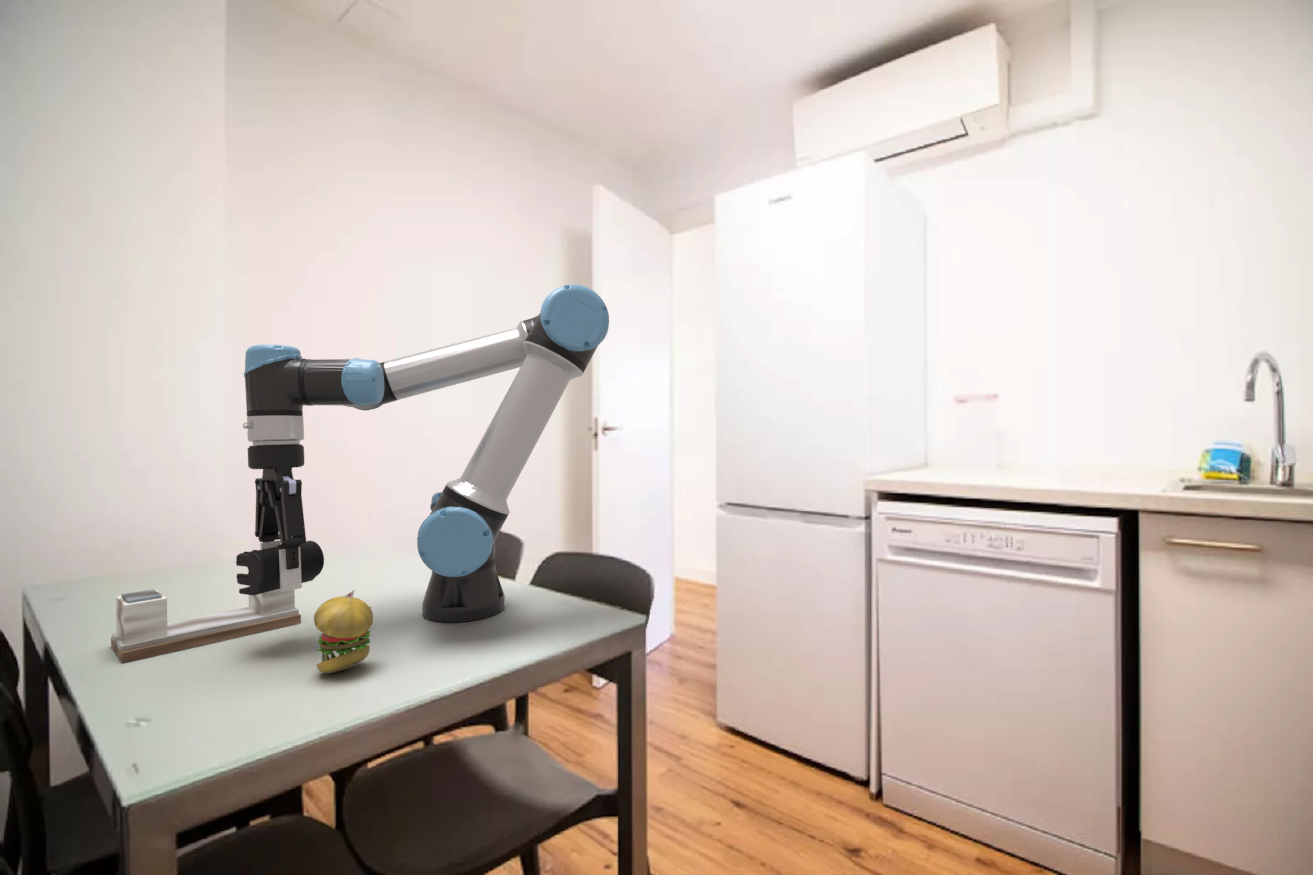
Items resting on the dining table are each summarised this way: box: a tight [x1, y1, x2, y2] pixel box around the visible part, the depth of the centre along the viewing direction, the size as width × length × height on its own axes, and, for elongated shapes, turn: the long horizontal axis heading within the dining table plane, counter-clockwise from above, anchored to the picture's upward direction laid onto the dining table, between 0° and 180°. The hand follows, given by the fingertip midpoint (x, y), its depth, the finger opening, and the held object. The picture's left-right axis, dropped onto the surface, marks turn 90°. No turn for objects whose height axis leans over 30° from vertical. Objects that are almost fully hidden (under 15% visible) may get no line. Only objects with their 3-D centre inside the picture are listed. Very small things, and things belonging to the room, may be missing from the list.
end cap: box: [235, 540, 325, 596], centre depth 92 cm, size 10×7×7 cm
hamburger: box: [313, 589, 374, 674], centre depth 83 cm, size 8×7×12 cm
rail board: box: [110, 586, 302, 664], centre depth 99 cm, size 11×24×9 cm, turn 140°
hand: (281, 585), depth 92 cm, fingers closed on end cap, 8 cm apart
